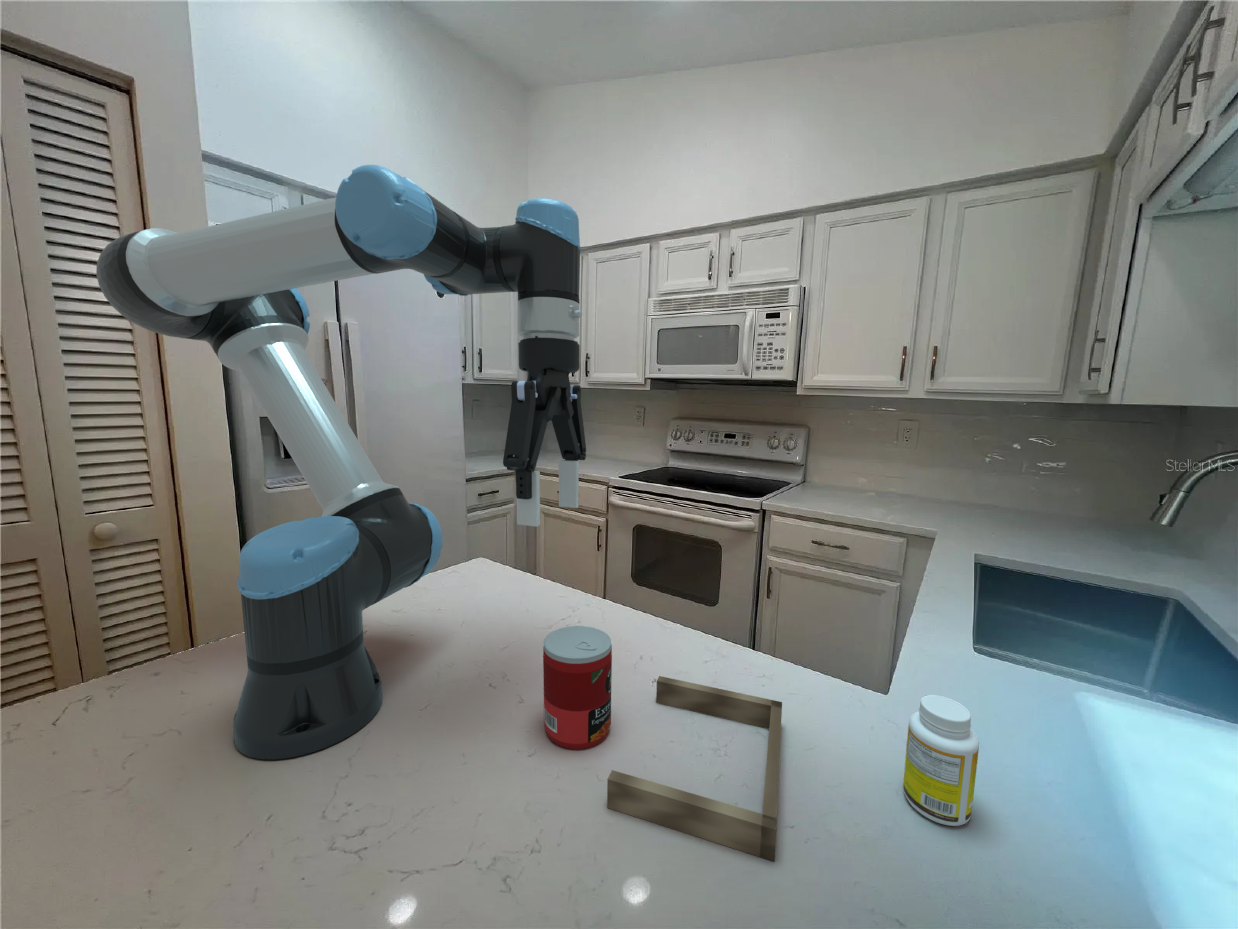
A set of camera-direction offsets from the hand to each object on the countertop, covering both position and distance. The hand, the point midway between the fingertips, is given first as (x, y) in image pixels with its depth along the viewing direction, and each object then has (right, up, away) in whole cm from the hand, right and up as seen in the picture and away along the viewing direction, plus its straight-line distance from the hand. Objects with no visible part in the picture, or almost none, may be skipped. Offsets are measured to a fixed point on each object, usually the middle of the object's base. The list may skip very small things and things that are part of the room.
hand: (550, 515), depth 62 cm
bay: (+19, -26, -11) cm, 34 cm away
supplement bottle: (+40, -27, -16) cm, 50 cm away
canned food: (+4, -25, -5) cm, 26 cm away
